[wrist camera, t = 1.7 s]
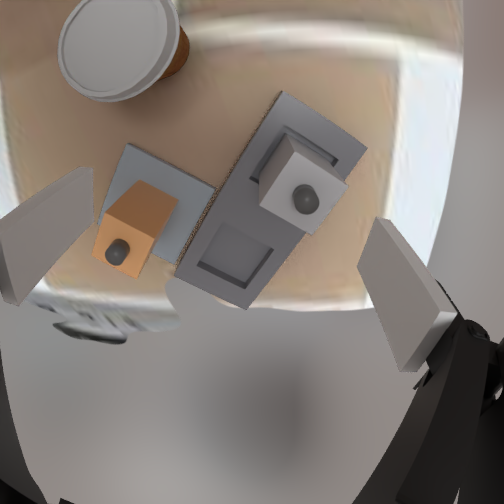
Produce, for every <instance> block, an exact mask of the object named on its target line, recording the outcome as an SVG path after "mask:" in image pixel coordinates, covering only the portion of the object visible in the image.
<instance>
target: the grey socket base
mask: <svg viewBox="0 0 504 504" xmlns="http://www.w3.org/2000/svg"><path fill="white" fill-rule="evenodd" d="M366 150H367V147H366V146H364V145H363V144H362V143H360V142H359V141H358V140H356V139H355V138H354V137H352V136H351V135H350V134H348V133H347V132H345V131H344V130H343V129H341V128H340V127H338V126H337V125H335V124H334V123H333V122H331V121H330V120H328V119H327V118H325V117H324V116H322V115H321V114H319V113H318V112H316V111H315V110H313V109H312V108H310V107H308V106H307V105H305V104H304V103H302V102H301V101H299V100H297V99H296V98H294V97H293V96H291V95H289V94H288V93H286V92H284V91H281V93H280V94H279V96H278V97H277V99H276V100H275V102H274V103H273V105H272V107H271V108H270V110H269V111H268V113H267V114H266V116H265V117H264V119H263V121H262V122H261V124H260V125H259V127H258V128H257V130H256V132H255V133H254V135H253V136H252V138H251V140H250V141H249V143H248V145H247V146H246V148H245V149H244V151H243V153H242V154H241V156H240V158H239V159H238V161H237V163H236V164H235V166H234V168H233V169H232V171H231V173H230V174H229V176H228V178H227V179H226V181H225V183H224V184H223V186H222V188H221V190H220V191H219V193H218V195H217V196H216V198H215V200H214V202H213V203H212V205H211V207H210V209H209V210H208V212H207V214H206V216H205V217H204V219H203V221H202V223H201V224H200V226H199V228H198V230H197V232H196V233H195V235H194V237H193V239H192V241H191V242H190V244H189V246H188V248H187V250H186V252H185V253H184V255H183V257H182V259H181V261H180V263H179V264H178V266H177V269H176V271H175V274H174V276H175V277H177V278H179V279H181V280H183V281H186V282H188V283H190V284H192V285H194V286H196V287H198V288H200V289H202V290H204V291H206V292H208V293H210V294H212V295H215V296H217V297H219V298H221V299H223V300H225V301H227V302H229V303H232V304H234V305H236V306H238V307H240V308H243V309H245V310H247V309H248V307H249V306H250V305H251V303H252V302H253V301H254V300H255V298H256V297H257V296H258V295H259V293H260V292H261V291H262V289H263V288H264V287H265V286H266V284H267V283H268V282H269V280H270V279H271V278H272V276H273V275H274V274H275V273H276V271H277V270H278V269H279V267H280V266H281V265H282V263H283V262H284V261H285V260H286V258H287V257H288V256H289V254H290V253H291V252H292V250H293V249H294V248H295V246H296V245H297V244H298V242H299V241H300V240H301V238H302V237H303V236H304V234H305V233H306V232H307V233H309V234H310V235H313V233H314V232H315V231H316V230H317V228H318V227H319V226H320V224H321V223H322V222H323V220H324V219H325V218H326V216H327V215H328V214H329V212H330V211H331V210H332V208H333V207H334V206H335V204H336V203H337V202H338V200H339V199H340V198H341V196H342V195H343V193H344V192H345V191H346V189H347V188H348V187H349V186H348V185H347V184H346V183H345V181H344V180H345V179H346V178H347V176H348V175H349V173H350V172H351V171H352V169H353V168H354V167H355V165H356V164H357V162H358V161H359V160H360V158H361V157H362V155H363V154H364V153H365V151H366Z"/></svg>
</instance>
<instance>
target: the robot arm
mask: <svg viewBox="0 0 504 504" xmlns="http://www.w3.org/2000/svg"><path fill="white" fill-rule="evenodd" d="M93 222H94V205H93V168H90V167H78V168H76V169H74V170H73V171H71V172H69V173H68V174H66V175H65V176H63V177H61V178H60V179H58V180H57V181H55V182H53V183H52V184H50V185H49V186H47V187H46V188H44V189H43V190H41V191H40V192H38V193H37V194H35V195H34V196H32V197H31V198H29V199H28V200H26V201H25V202H23V203H22V204H21V205H19V206H18V207H16V208H15V209H14V210H12V211H11V212H10V213H8V214H7V215H6V216H4V217H3V218H2V219H0V290H1V294H2V297H3V299H4V301H5V302H7V303H10V304H13V305H16V306H19V305H20V304H21V303H22V302H23V300H24V299H25V298H26V297H27V295H28V294H29V293H30V292H31V291H32V289H33V288H34V287H35V286H36V285H37V283H38V282H39V281H40V280H41V279H42V277H43V276H44V275H45V274H46V273H47V272H48V270H49V269H50V268H51V267H52V266H53V265H54V264H55V262H56V261H57V260H58V259H59V258H60V257H61V256H62V255H63V254H64V252H65V251H66V250H67V249H68V248H69V247H70V246H71V245H72V244H73V243H74V242H75V241H76V240H77V239H78V238H79V236H80V235H81V234H82V233H83V232H84V231H85V230H86V229H87V228H88V227H89V226H90V225H91V224H92V223H93ZM357 268H358V270H359V273H360V275H361V277H362V279H363V282H364V284H365V286H366V288H367V291H368V293H369V295H370V298H371V300H372V302H373V305H374V307H375V309H376V312H377V314H378V317H379V319H380V322H381V324H382V326H383V329H384V332H385V334H386V336H387V339H388V342H389V345H390V347H391V350H392V352H393V355H394V358H395V360H396V363H397V366H398V369H399V371H400V372H417V371H418V369H419V368H420V367H421V366H422V364H423V363H424V362H425V360H426V362H427V364H428V366H429V369H428V371H427V372H426V373H425V374H424V376H423V377H422V378H421V379H420V381H419V382H418V383H417V384H416V385H415V387H414V388H413V389H414V390H416V389H417V388H418V389H417V392H416V394H415V396H414V398H413V400H412V403H411V405H410V407H409V409H408V411H407V413H406V415H405V417H404V419H403V421H402V423H401V425H400V427H399V428H398V430H397V432H396V434H395V436H394V438H393V440H392V441H391V443H390V445H389V447H388V449H387V450H386V452H385V454H384V455H383V457H382V459H381V461H380V462H379V464H378V465H377V467H376V469H375V470H374V472H373V473H372V475H371V477H370V478H369V480H368V481H367V483H366V484H365V486H364V487H363V489H362V490H361V492H360V493H359V495H358V496H357V497H356V499H355V500H354V502H353V503H352V504H453V503H454V501H455V498H456V496H457V493H458V490H459V496H458V503H457V504H504V338H503V339H502V341H501V342H500V344H497V343H494V342H491V341H490V337H489V335H488V333H487V331H486V330H485V329H484V328H483V327H482V326H480V325H479V324H478V323H476V322H474V321H472V320H464V318H463V317H462V315H461V314H460V312H459V310H458V309H457V307H456V306H455V305H454V303H453V301H451V298H450V297H449V296H448V294H446V291H445V290H444V288H443V287H442V285H441V284H440V283H439V282H438V281H437V280H436V279H434V277H433V276H432V275H431V273H430V272H429V270H428V269H427V268H426V266H425V265H424V263H423V262H422V261H421V259H420V258H419V257H418V255H417V254H416V253H415V251H414V250H413V249H412V247H411V246H410V245H409V244H408V242H407V241H406V240H405V238H404V237H403V236H402V235H401V233H400V232H399V231H398V230H397V228H396V227H395V226H394V225H393V223H392V222H391V221H390V220H388V219H384V218H379V217H376V218H375V221H374V223H373V226H372V229H371V231H370V234H369V237H368V239H367V242H366V245H365V247H364V250H363V252H362V255H361V257H360V260H359V262H358V265H357ZM502 387H503V390H502V393H501V395H500V397H499V398H498V399H497V400H496V399H495V394H496V393H497V392H498V391H499V390H500V389H501V388H502ZM459 488H460V489H459ZM0 504H47V502H46V500H45V498H44V496H43V494H42V492H41V490H40V489H39V487H38V485H37V484H36V483H35V481H34V480H33V478H32V477H31V475H30V473H29V471H28V468H27V466H26V463H25V460H24V457H23V454H22V450H21V447H20V444H19V440H18V437H17V433H16V430H15V426H14V423H13V418H12V414H11V409H10V405H9V400H8V395H7V390H6V385H5V379H4V373H3V366H2V359H1V351H0ZM59 504H74V503H71V502H69V501H66V500H64V499H62V498H60V502H59Z"/></svg>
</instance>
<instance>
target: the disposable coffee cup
mask: <svg viewBox="0 0 504 504" xmlns="http://www.w3.org/2000/svg"><path fill="white" fill-rule="evenodd" d="M188 54H189V41H188V37H187V36H186V34H185V32H184V31H183V29H182V27H181V26H180V23H179V17H178V13H177V10H176V8H175V6H174V4H173V3H172V1H171V0H83V1H81V2H80V3H79V4H78V5H77V6H76V7H75V9H74V10H73V11H72V12H71V14H70V15H69V17H68V18H67V20H66V22H65V24H64V26H63V28H62V31H61V34H60V37H59V42H58V54H57V56H58V63H59V67H60V70H61V73H62V75H63V76H64V78H65V79H66V81H67V82H68V83H69V84H70V85H71V86H72V87H73V88H74V89H75V90H77V91H78V92H79V93H80V94H81V95H83V96H85V97H87V98H89V99H92V100H96V101H99V102H116V101H121V100H126V99H128V98H131V97H134V96H136V95H138V94H139V93H141V92H143V91H145V90H146V89H147V88H149V87H150V86H151V85H153V84H154V83H155V82H156V81H158V80H161V79H163V78H166V77H169V76H171V75H173V74H174V73H176V72H177V71H178V70H180V68H181V67H182V66H183V65H184V63H185V62H186V60H187V57H188Z"/></svg>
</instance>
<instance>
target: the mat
mask: <svg viewBox="0 0 504 504" xmlns="http://www.w3.org/2000/svg"><path fill="white" fill-rule="evenodd" d="M139 179H140V180H142V181H144V182H146V183H148V184H150V185H151V186H153V187H155V188H157V189H159V190H161V191H163V192H165V193H167V194H169V195H171V196H173V197H175V198H176V199H178V202H177V204H176V206H175V208H174V210H173V212H172V214H171V216H170V218H169V220H168V222H167V224H166V226H165V228H164V230H163V232H162V234H161V236H160V238H159V240H158V241H157V243H156V245H155V247H154V249H153V250H152V252H151V253H153V254H155V255H156V256H158V257H160V258H162V259H164V260H166V261H168V262H170V263H172V264H175V262H176V260H177V258H178V256H179V255H180V253H181V251H182V249H183V247H184V245H185V243H186V242H187V240H188V238H189V236H190V234H191V232H192V230H193V229H194V227H195V225H196V223H197V221H198V220H199V218H200V216H201V214H202V212H203V211H204V209H205V207H206V205H207V204H208V202H209V200H210V198H211V197H212V195H213V193H214V191H215V189H216V188H215V187H213V186H211V185H209V184H208V183H206V182H204V181H202V180H200V179H198V178H196V177H194V176H192V175H191V174H189V173H187V172H185V171H183V170H181V169H179V168H177V167H175V166H173V165H171V164H169V163H167V162H166V161H164V160H162V159H160V158H158V157H156V156H154V155H152V154H150V153H148V152H146V151H144V150H142V149H140V148H138V147H136V146H134V145H132V144H130V143H127V144H126V146H125V149H124V151H123V154H122V156H121V159H120V161H119V164H118V166H117V169H116V171H115V174H114V177H113V179H112V182H111V185H110V187H109V190H108V193H107V196H106V199H105V201H104V204H103V207H102V210H101V213H100V216H99V220H98V223H97V224H98V225H101V222H102V219H103V216H104V213H105V212H106V211H107V210H108V209H109V208H110V207H111V206H112V205H113V204H114V203H115V202H116V201H117V200H118V199H119V198H120V197H121V196H122V195H123V194H124V193H125V192H126V191H127V190H128V189H129V188H130V187H131V186H133V185H134V184H135V183H136V182H137V181H138V180H139Z"/></svg>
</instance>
